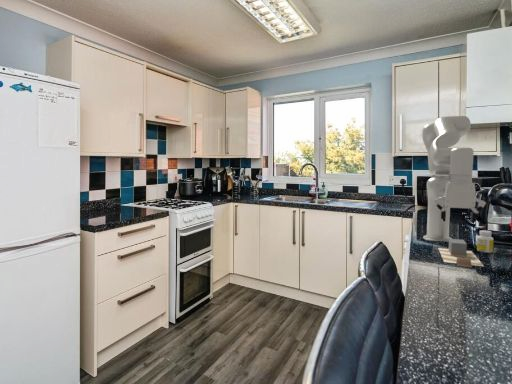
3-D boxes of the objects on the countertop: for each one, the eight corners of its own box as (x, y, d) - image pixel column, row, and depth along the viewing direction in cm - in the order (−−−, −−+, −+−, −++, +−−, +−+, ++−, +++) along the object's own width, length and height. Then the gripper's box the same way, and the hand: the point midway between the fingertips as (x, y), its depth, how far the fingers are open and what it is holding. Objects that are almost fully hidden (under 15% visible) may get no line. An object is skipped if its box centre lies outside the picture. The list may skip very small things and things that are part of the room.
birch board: (437, 251, 131) (438, 247, 131) (471, 254, 125) (471, 251, 125) (443, 265, 111) (444, 261, 111) (484, 270, 106) (484, 266, 106)
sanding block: (448, 250, 127) (449, 238, 126) (462, 251, 124) (463, 239, 124) (451, 255, 119) (451, 242, 119) (466, 256, 117) (466, 244, 117)
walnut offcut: (456, 261, 110) (456, 257, 109) (469, 263, 108) (470, 259, 107) (457, 269, 107) (458, 265, 106) (471, 271, 105) (472, 267, 104)
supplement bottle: (489, 253, 128) (490, 230, 127) (495, 256, 123) (496, 232, 122) (474, 252, 129) (475, 229, 129) (479, 255, 124) (480, 232, 124)
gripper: (435, 179, 120) (433, 221, 122) (489, 180, 113) (486, 225, 114) (434, 178, 127) (432, 218, 129) (484, 178, 119) (482, 221, 121)
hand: (457, 221), depth 122 cm, fingers open, 9 cm apart
